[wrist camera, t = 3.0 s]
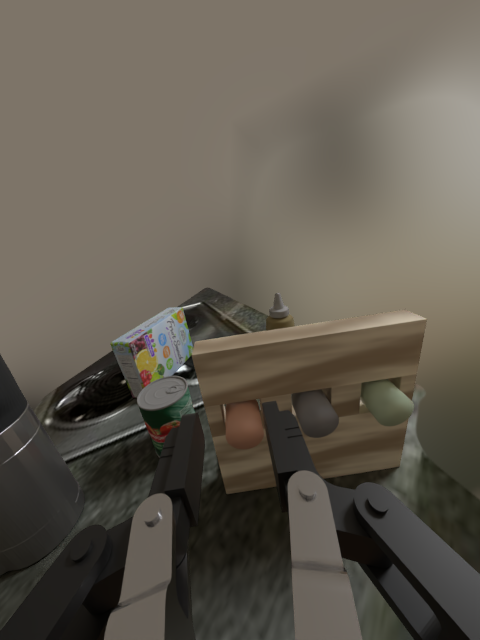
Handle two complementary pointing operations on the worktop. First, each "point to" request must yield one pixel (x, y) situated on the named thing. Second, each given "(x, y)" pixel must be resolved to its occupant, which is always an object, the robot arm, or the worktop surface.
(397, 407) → the sage button
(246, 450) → the button panel
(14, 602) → the worktop surface
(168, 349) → the snack box
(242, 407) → the terracotta button
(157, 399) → the canned tomato
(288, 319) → the squeeze bottle
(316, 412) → the grey button
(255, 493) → the worktop surface
